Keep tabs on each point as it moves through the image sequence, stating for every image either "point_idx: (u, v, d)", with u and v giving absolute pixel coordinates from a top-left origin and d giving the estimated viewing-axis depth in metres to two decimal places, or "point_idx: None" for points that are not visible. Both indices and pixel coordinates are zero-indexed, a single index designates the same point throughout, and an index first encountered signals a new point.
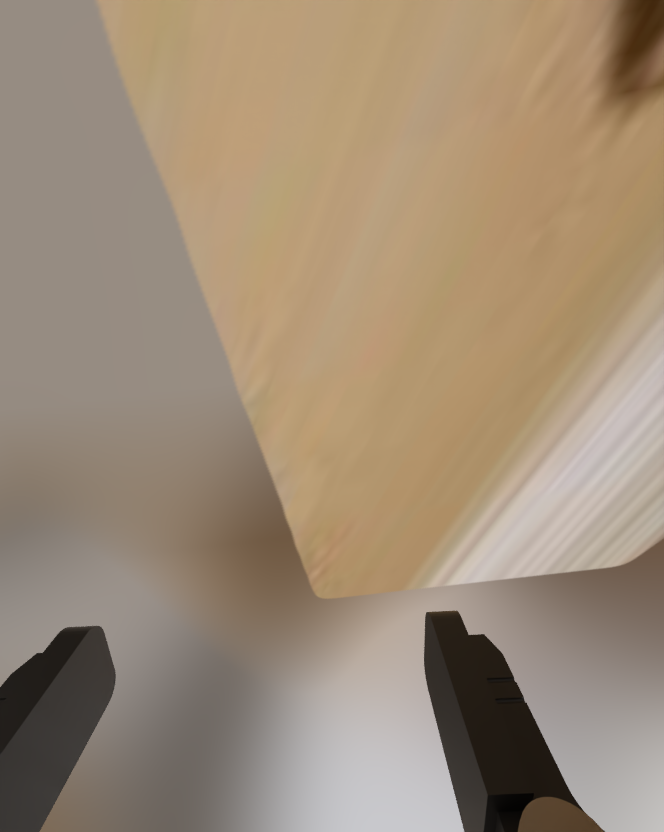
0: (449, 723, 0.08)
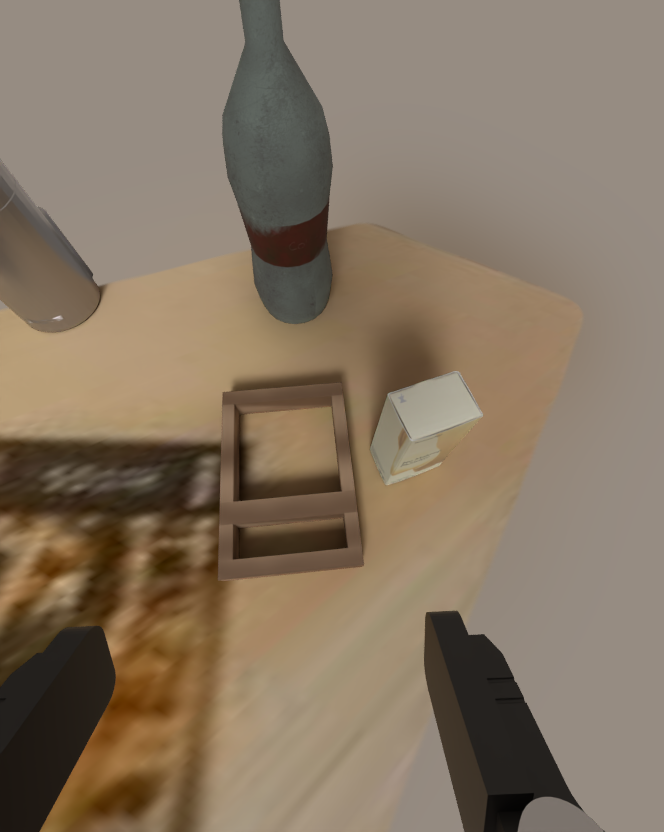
0: (449, 723, 0.08)
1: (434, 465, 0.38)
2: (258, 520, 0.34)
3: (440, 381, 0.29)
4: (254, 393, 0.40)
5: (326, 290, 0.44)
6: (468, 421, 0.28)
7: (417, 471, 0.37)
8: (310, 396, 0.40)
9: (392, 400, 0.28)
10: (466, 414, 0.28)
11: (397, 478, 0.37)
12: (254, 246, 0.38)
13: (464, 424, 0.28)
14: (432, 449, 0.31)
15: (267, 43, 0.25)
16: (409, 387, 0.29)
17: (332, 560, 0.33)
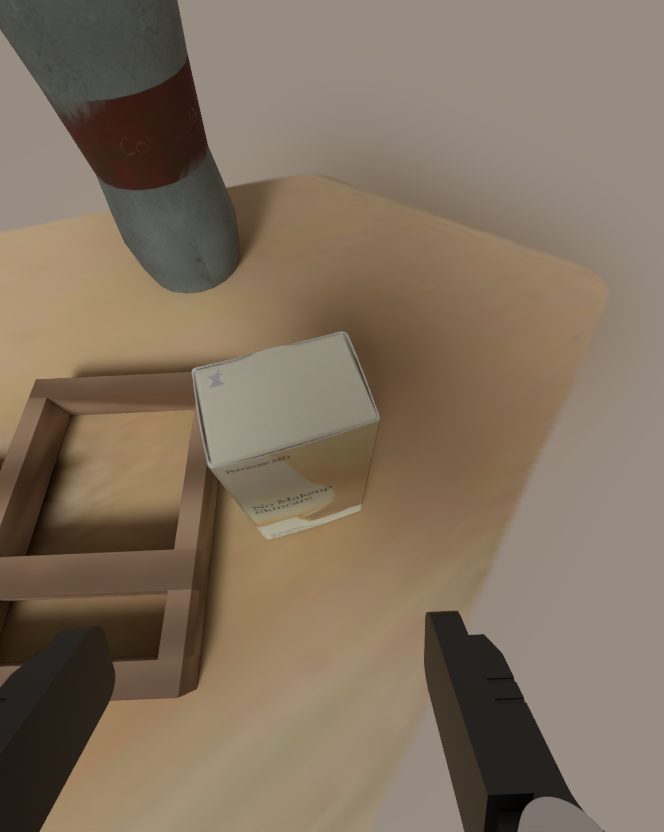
0: (449, 723, 0.08)
1: (347, 510, 0.22)
2: (18, 594, 0.20)
3: (304, 349, 0.14)
4: (82, 382, 0.26)
5: (220, 241, 0.30)
6: (346, 430, 0.13)
7: (314, 519, 0.22)
8: (165, 390, 0.25)
9: (196, 382, 0.14)
10: (343, 414, 0.13)
11: (278, 530, 0.21)
12: (85, 157, 0.25)
13: (338, 436, 0.13)
14: (302, 485, 0.16)
15: None
16: (239, 358, 0.14)
17: (121, 684, 0.18)
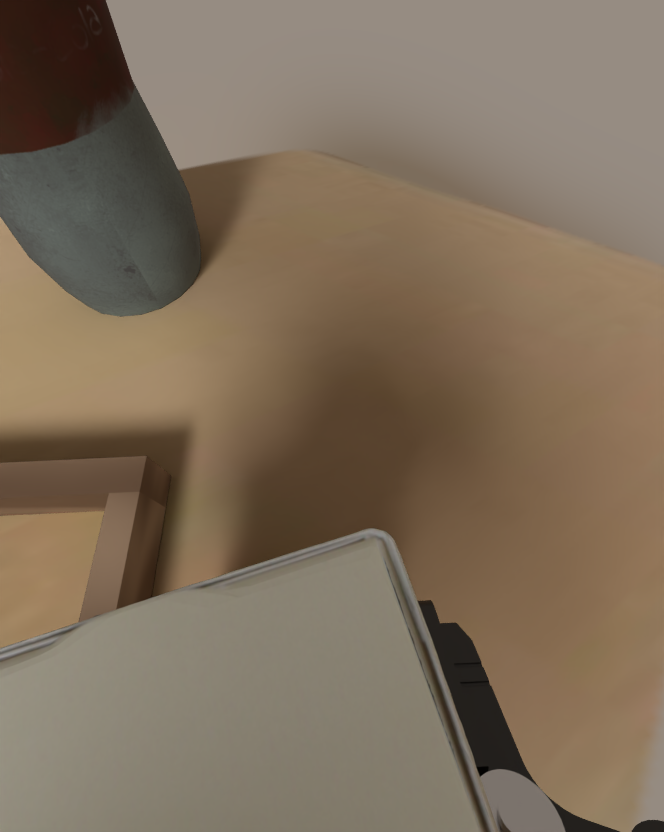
0: None
1: None
2: None
3: (253, 612, 0.04)
4: None
5: (164, 241, 0.20)
6: None
7: None
8: (56, 492, 0.15)
9: None
10: None
11: None
12: None
13: None
14: None
15: None
16: (28, 650, 0.04)
17: None
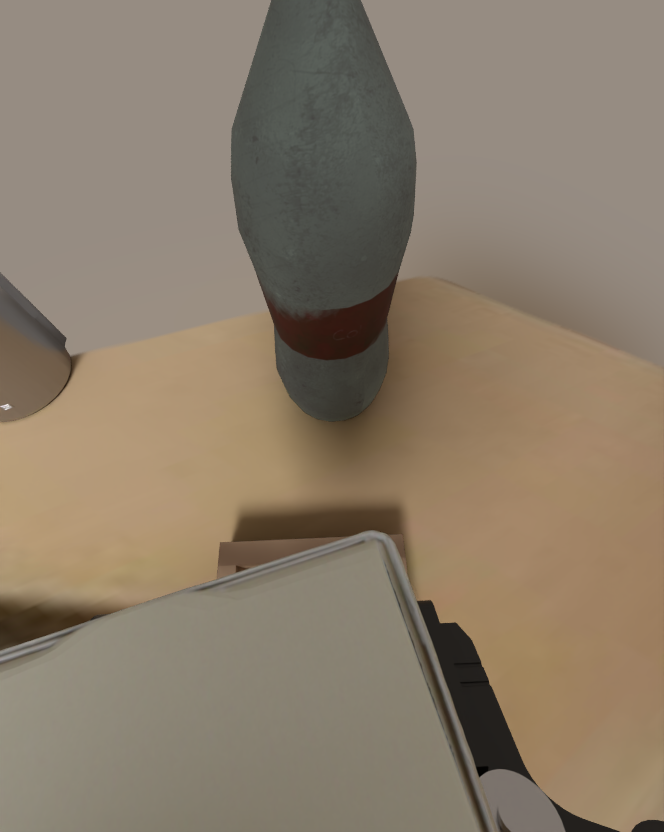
0: None
1: None
2: None
3: (252, 615, 0.04)
4: (268, 547, 0.26)
5: (380, 382, 0.30)
6: None
7: None
8: None
9: None
10: None
11: None
12: (278, 328, 0.25)
13: None
14: None
15: None
16: (27, 653, 0.04)
17: None
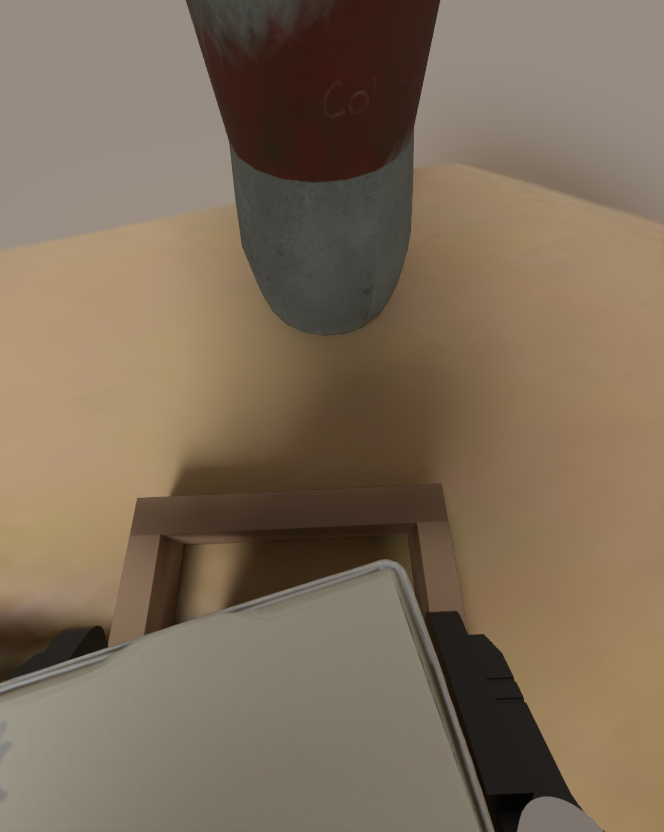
0: None
1: None
2: None
3: (280, 635, 0.05)
4: (216, 505, 0.15)
5: (398, 262, 0.20)
6: None
7: None
8: (360, 521, 0.15)
9: None
10: None
11: None
12: (230, 124, 0.14)
13: None
14: None
15: None
16: (84, 666, 0.05)
17: None
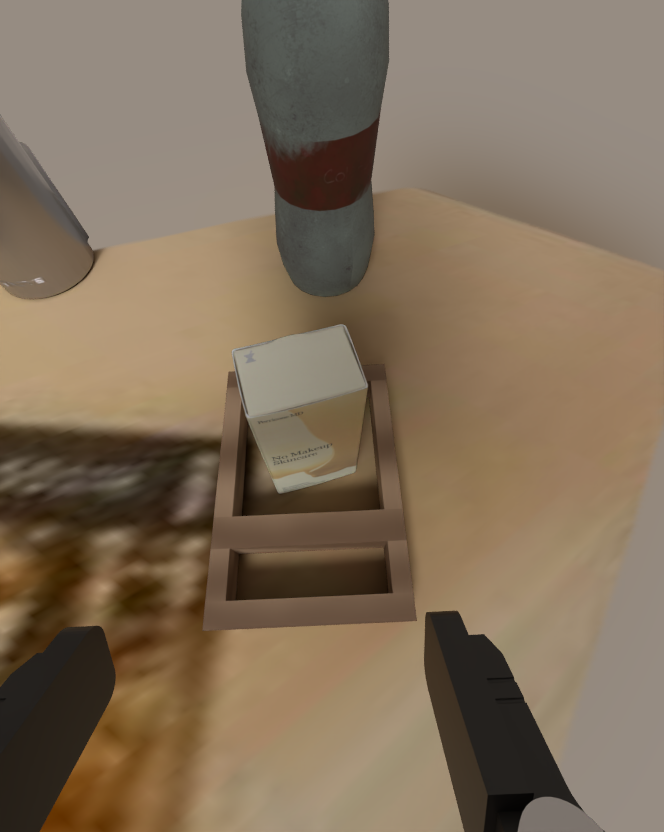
0: (449, 723, 0.08)
1: (344, 470, 0.28)
2: (265, 545, 0.24)
3: (314, 336, 0.20)
4: None
5: (366, 252, 0.34)
6: (343, 394, 0.18)
7: (318, 476, 0.27)
8: None
9: (235, 359, 0.19)
10: (342, 383, 0.18)
11: (289, 484, 0.27)
12: (278, 182, 0.29)
13: (337, 399, 0.18)
14: (310, 440, 0.21)
15: None
16: (266, 343, 0.20)
17: (369, 611, 0.22)
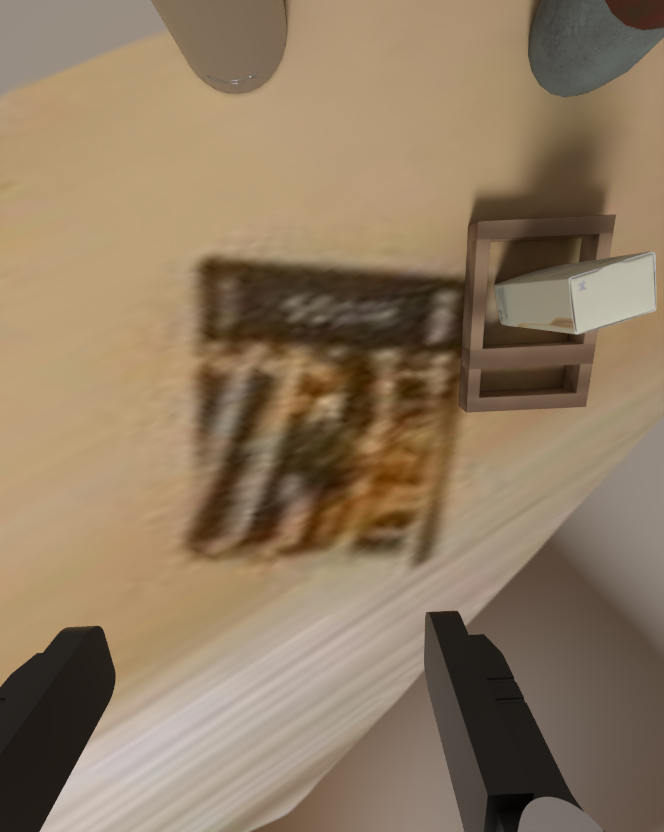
0: (449, 723, 0.08)
1: None
2: (503, 366, 0.38)
3: (630, 265, 0.27)
4: (514, 225, 0.35)
5: None
6: (638, 315, 0.28)
7: None
8: (575, 232, 0.35)
9: (571, 286, 0.27)
10: (640, 307, 0.28)
11: None
12: None
13: None
14: None
15: None
16: (594, 271, 0.27)
17: (560, 402, 0.40)
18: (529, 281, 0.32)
